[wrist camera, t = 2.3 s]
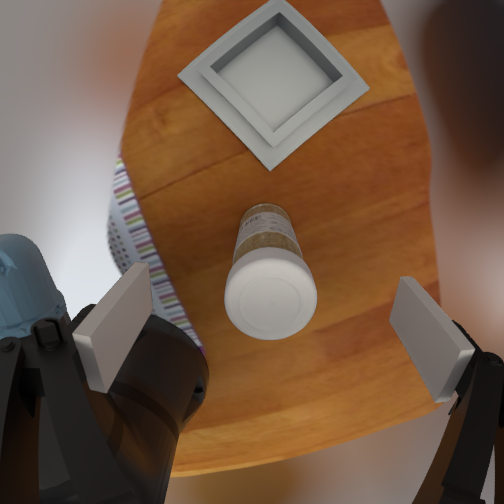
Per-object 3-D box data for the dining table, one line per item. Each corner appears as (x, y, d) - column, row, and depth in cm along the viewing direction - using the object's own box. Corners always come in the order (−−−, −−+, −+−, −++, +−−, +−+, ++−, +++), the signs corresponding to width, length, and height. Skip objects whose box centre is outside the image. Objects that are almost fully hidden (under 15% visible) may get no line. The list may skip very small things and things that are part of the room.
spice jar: (254, 260, 29) (251, 355, 16) (230, 216, 27) (204, 286, 15) (301, 237, 28) (332, 321, 15) (277, 191, 26) (294, 243, 14)
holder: (269, 169, 26) (271, 175, 22) (180, 78, 23) (166, 68, 19) (365, 90, 23) (383, 83, 19) (277, 0, 20) (280, -21, 17)
